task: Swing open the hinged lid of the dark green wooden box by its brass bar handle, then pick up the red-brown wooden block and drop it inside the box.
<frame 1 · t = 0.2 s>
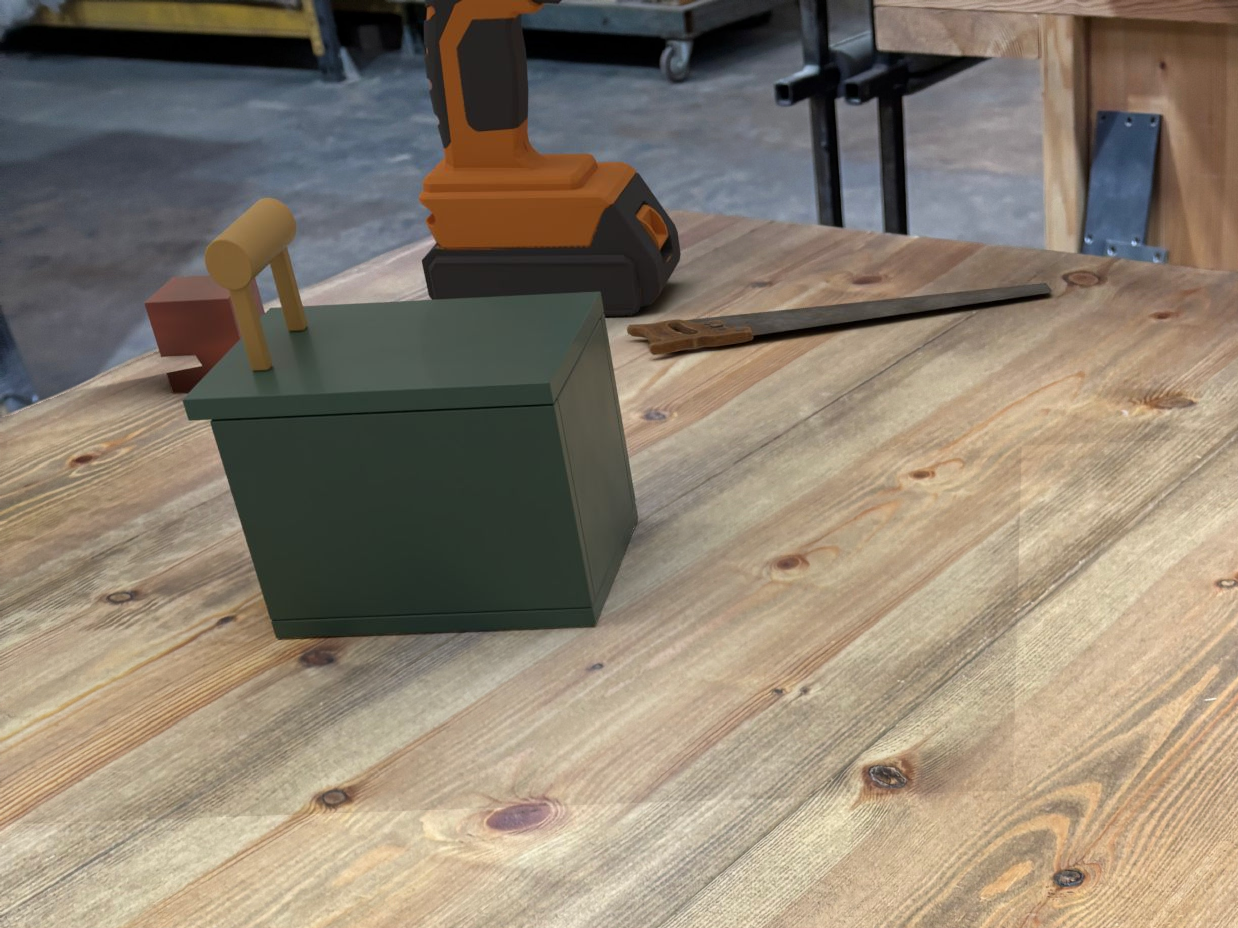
block: (226, 377, 108), on the table
lid: (388, 289, 77), point 12 cm above the table, hinge at 0.0°
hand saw: (840, 324, 109), on the table
chest: (465, 576, 85), on the table
power drill: (598, 303, 115), on the table
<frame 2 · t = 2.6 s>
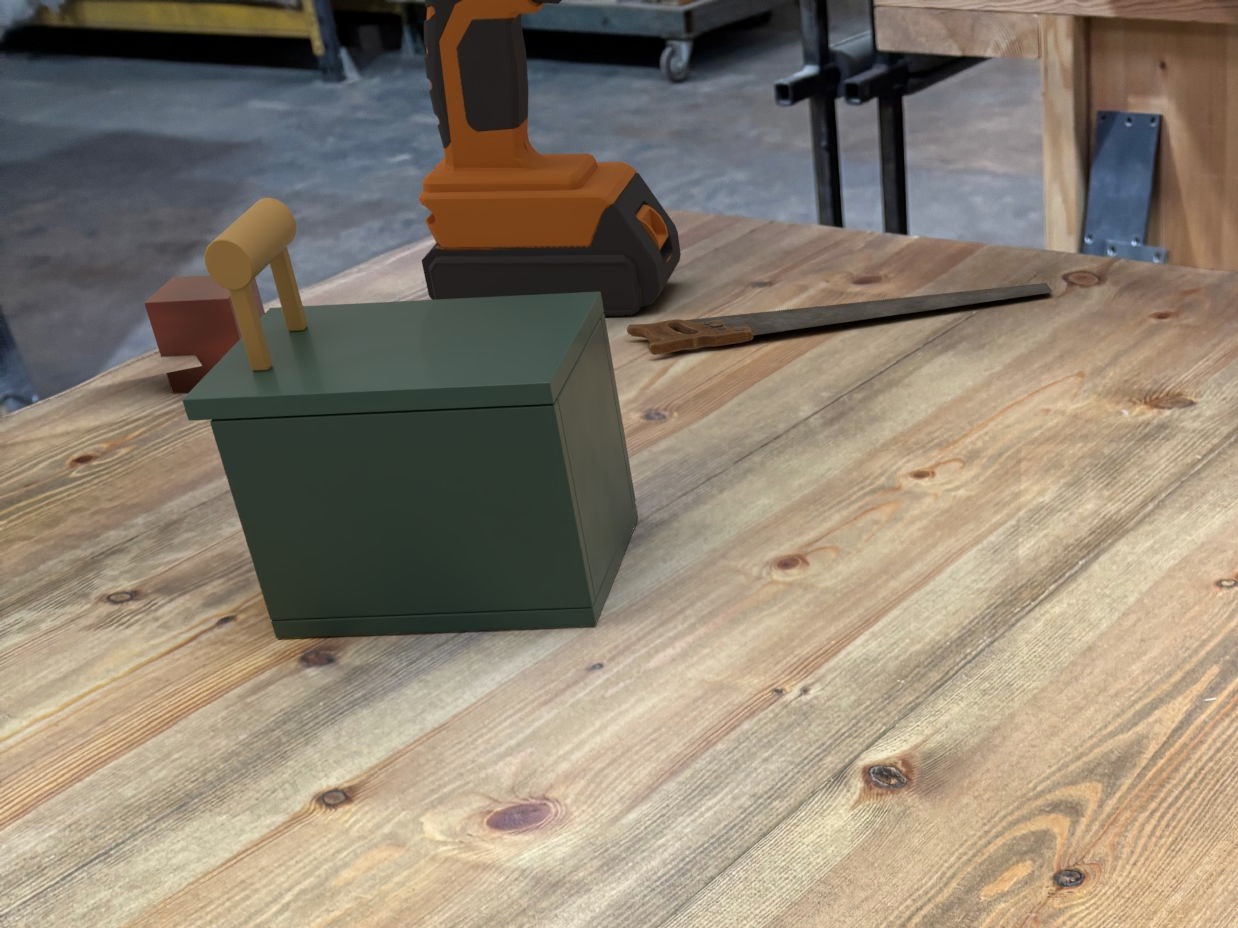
nothing on the table moved.
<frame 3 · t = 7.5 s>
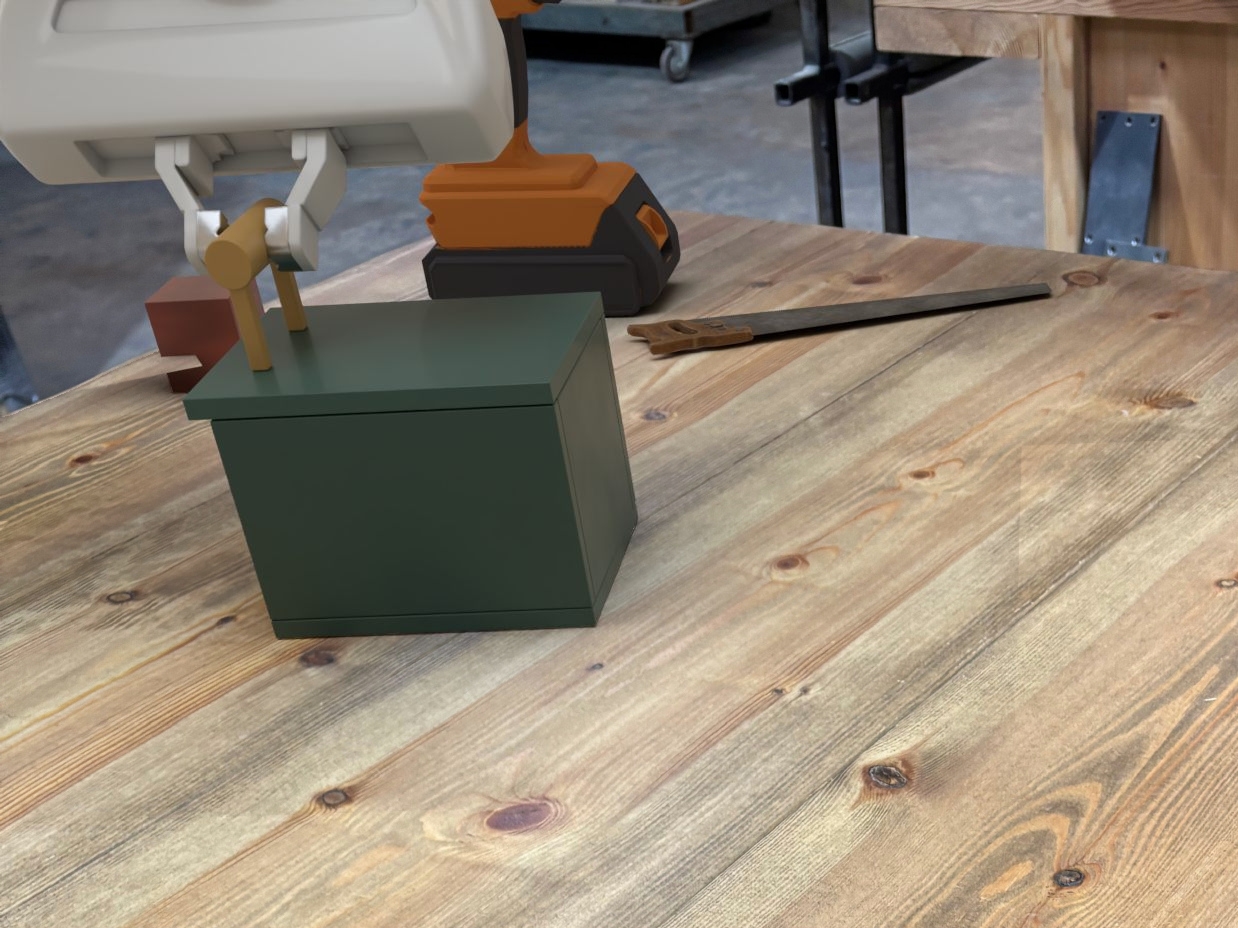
hand: (252, 266, 76), 13 cm above the table, tool tilted 45°, fingers closed on lid, 2 cm apart
lid: (388, 289, 77), point 12 cm above the table, hinge at 0.0°, touching gripper
everything else where it was.
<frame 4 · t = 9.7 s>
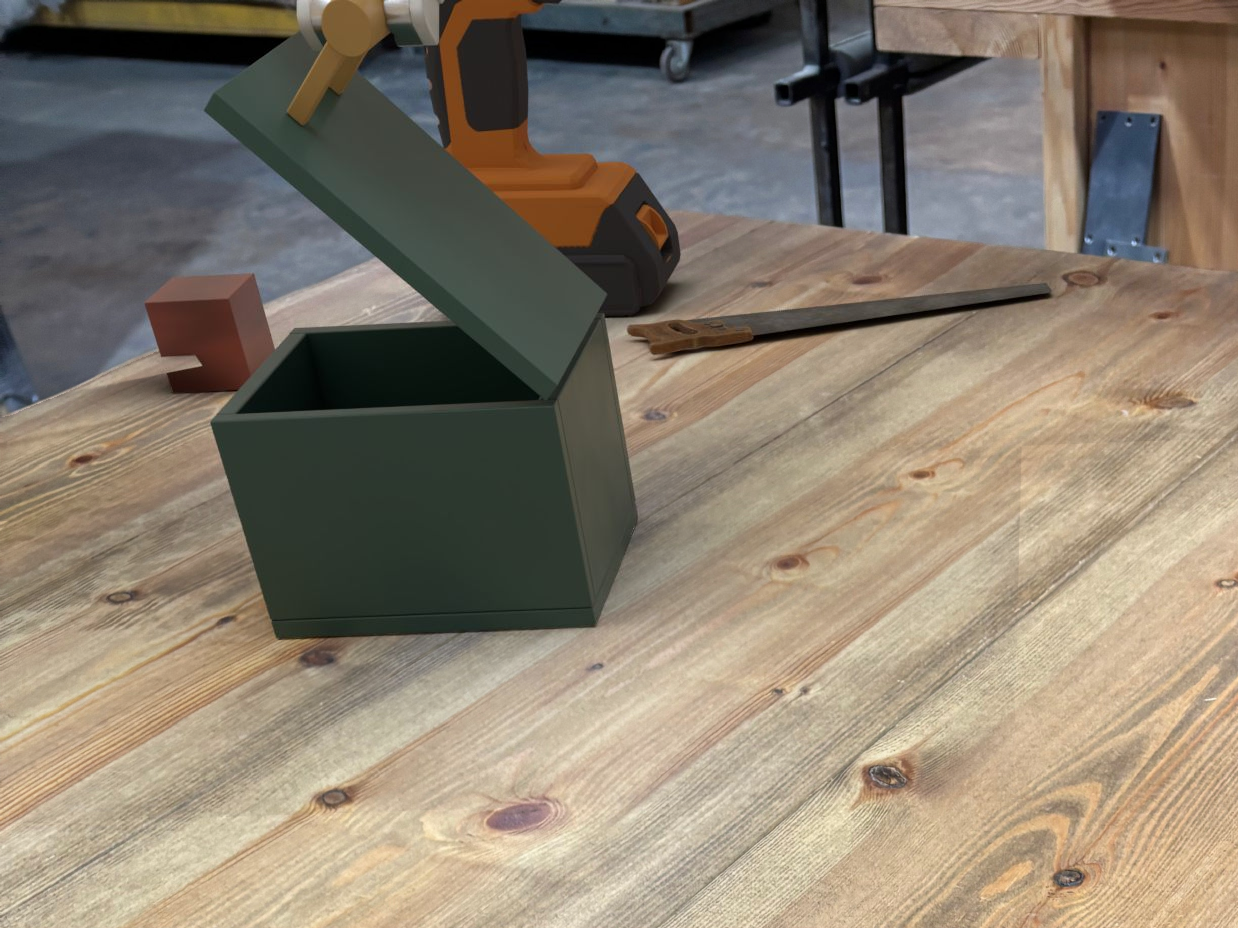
hand: (369, 38, 71), 20 cm above the table, tool tilted 45°, fingers closed on lid, 2 cm apart
lid: (457, 159, 74), point 16 cm above the table, hinge at 45.2°, touching gripper
everything else where it was.
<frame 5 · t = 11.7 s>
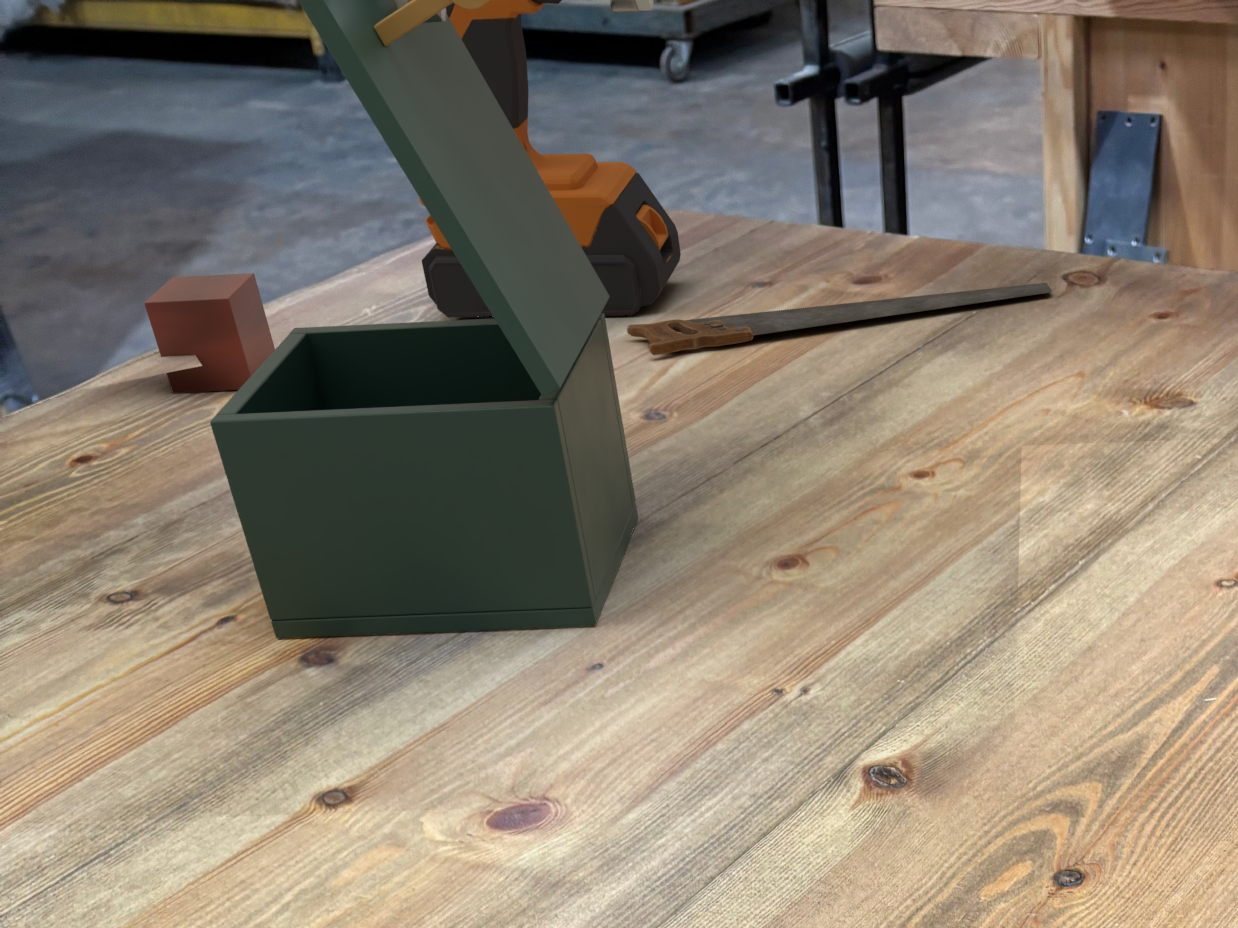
hand: (523, 6, 70), 21 cm above the table, tool tilted 45°, fingers open, 6 cm apart
lid: (522, 133, 74), point 17 cm above the table, hinge at 66.3°, touching gripper
everything else where it was.
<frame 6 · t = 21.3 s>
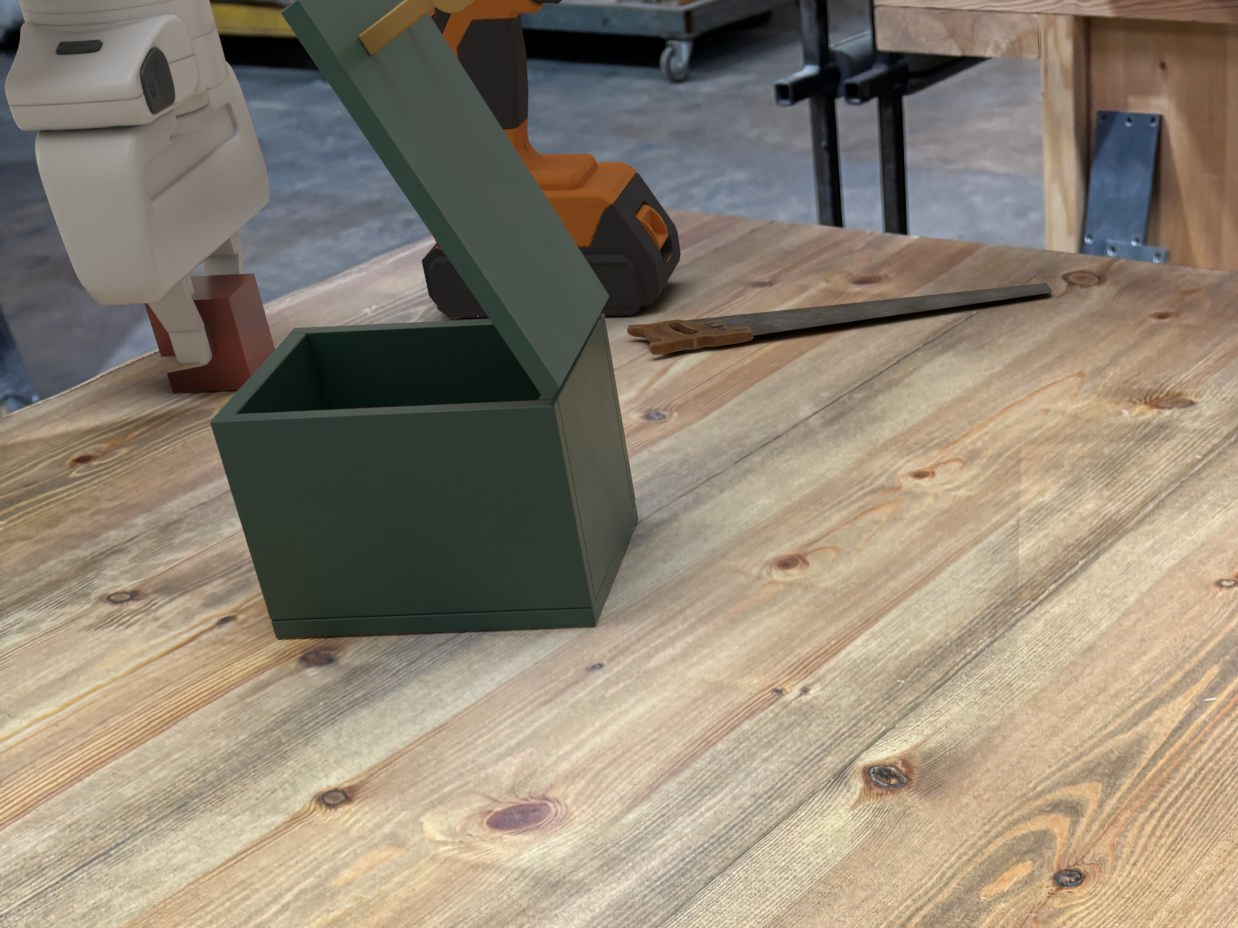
hand: (216, 344, 107), 2 cm above the table, tool pointing down, fingers closed on block, 4 cm apart
block: (226, 377, 108), on the table, touching gripper
lid: (512, 135, 74), point 17 cm above the table, hinge at 63.2°
everything else where it was.
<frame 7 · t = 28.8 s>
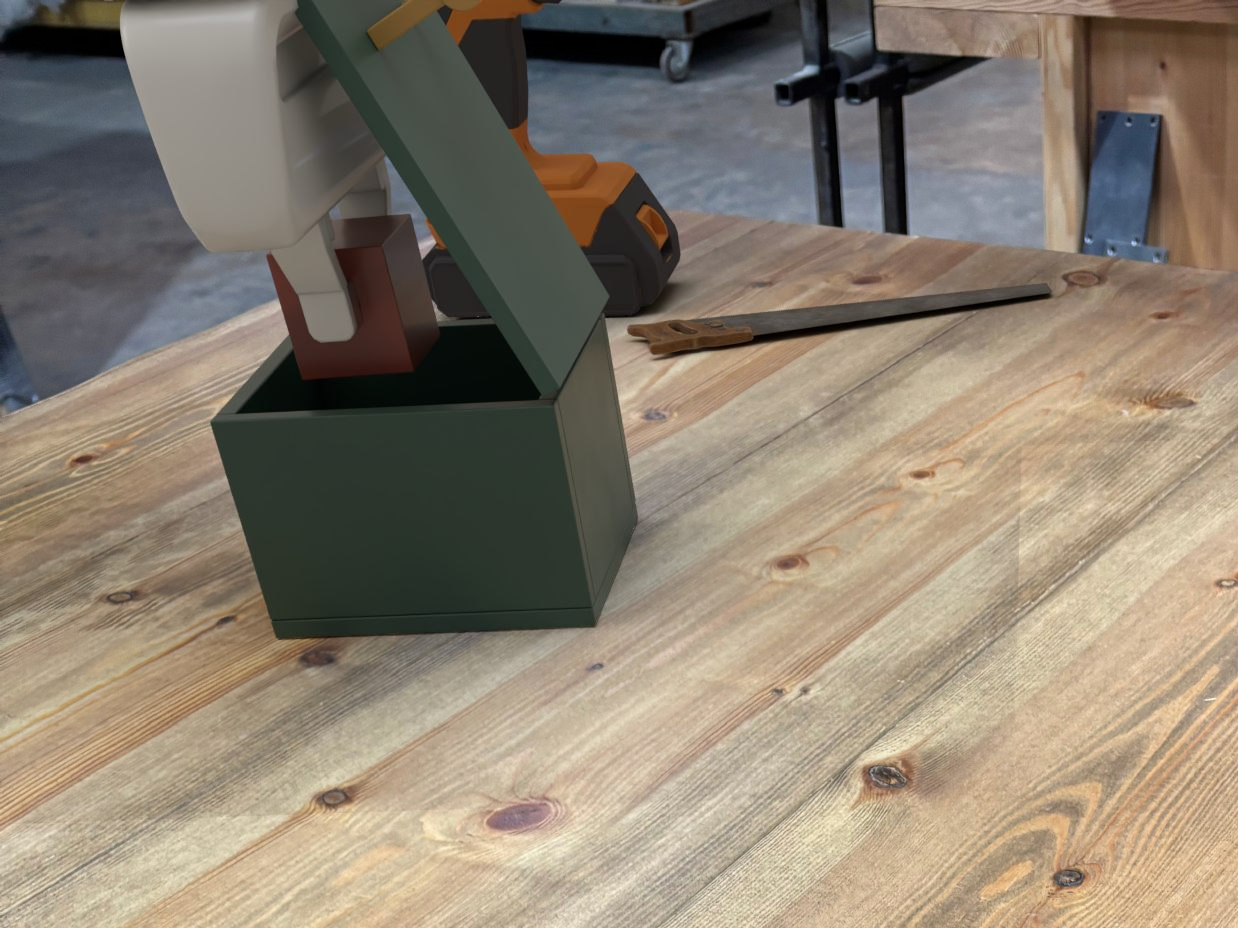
hand: (359, 313, 78), 11 cm above the table, tool pointing down, fingers closed on block, 4 cm apart
block: (372, 358, 79), point 9 cm above the table, touching gripper
lid: (517, 134, 74), point 17 cm above the table, hinge at 64.9°, touching arm
everything else where it was.
when the fingers open (11 cm above the table, at t = 28.9 s): block drops 8 cm, resting on chest.
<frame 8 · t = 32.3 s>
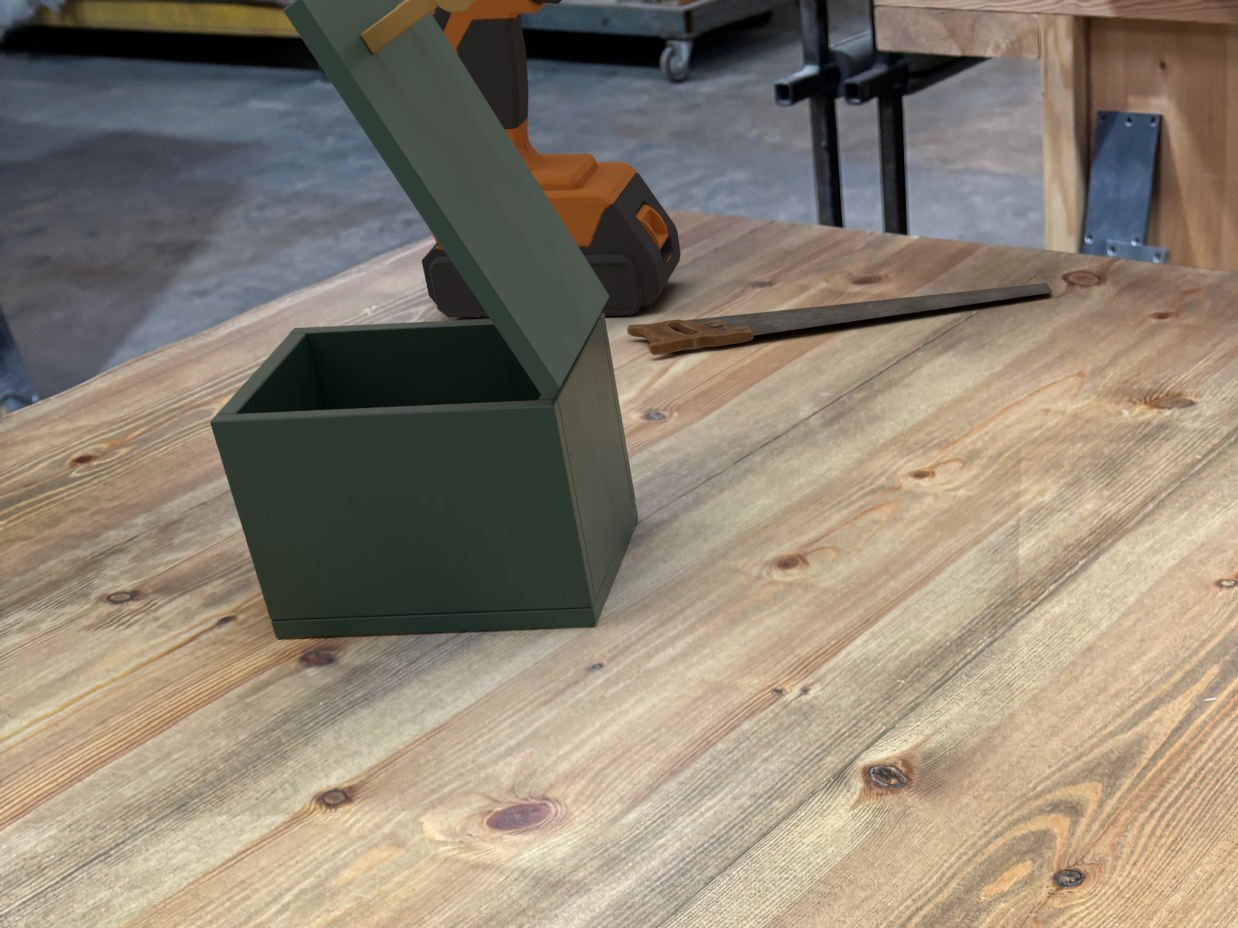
block: (423, 559, 85), point 1 cm above the table, touching chest
lid: (513, 134, 74), point 17 cm above the table, hinge at 63.7°
everything else where it was.
at the end: lid at +64° (first picture: +0°); block inside the target area in the chest (1.7 cm from its centre), point 0.8 cm above the chest's base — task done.
